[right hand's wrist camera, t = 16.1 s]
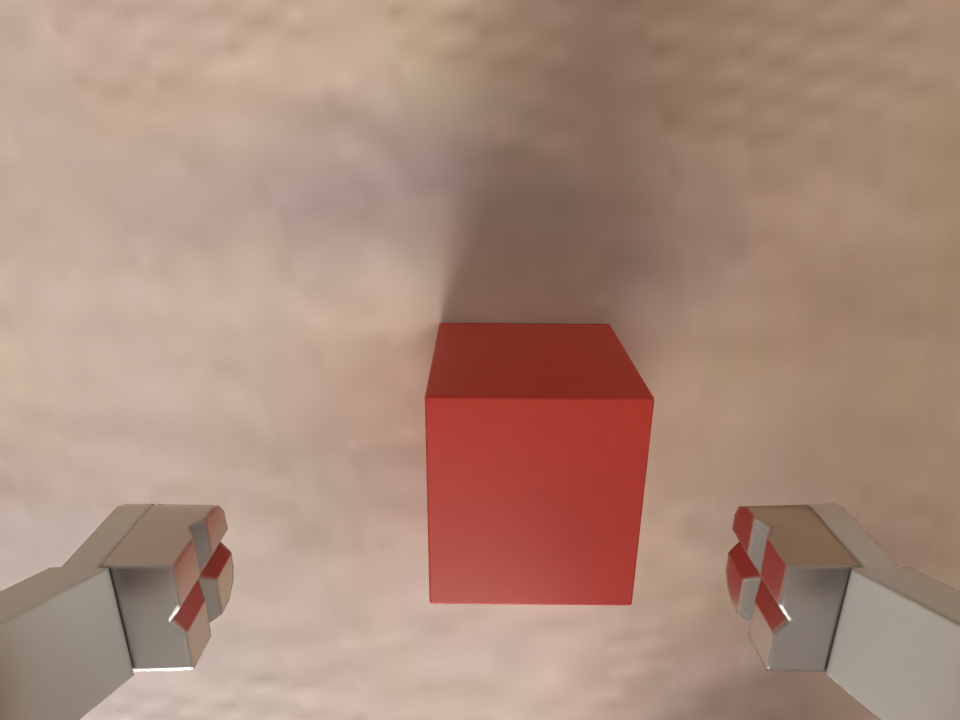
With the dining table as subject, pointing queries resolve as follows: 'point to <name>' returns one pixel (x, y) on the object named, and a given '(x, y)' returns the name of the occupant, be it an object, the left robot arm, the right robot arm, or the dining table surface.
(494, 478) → the block
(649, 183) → the dining table surface
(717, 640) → the dining table surface
